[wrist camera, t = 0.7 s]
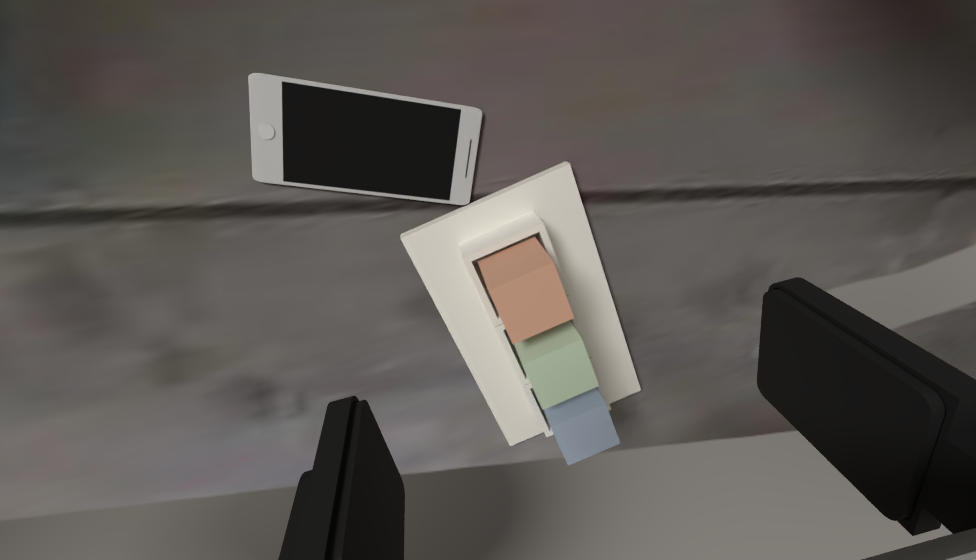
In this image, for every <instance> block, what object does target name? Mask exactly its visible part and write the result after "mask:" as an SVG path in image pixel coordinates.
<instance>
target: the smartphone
mask: <svg viewBox="0 0 976 560" xmlns="http://www.w3.org/2000/svg"><path fill="white" fill-rule="evenodd" d="M248 79H249V103H250V127H251V151H252V175H253V179H255V180H256V181H259V182H263V183H272V184H281V185H290V186H298V187H307V188H316V189H325V190H333V191H342V192H351V193H360V194H368V195H377V196H386V197H395V198H403V199H412V200H421V201H430V202H438V203H447V204H456V205H467V204H469V202H470V195H471V189H472V182H473V175H474V168H475V161H476V154H477V148H478V141H479V134H480V127H481V120H482V111H481V110H479V109H478V108H475V107H470V106H464V105H457V104H451V103H445V102H439V101H432V100H426V99H420V98H413V97H407V96H401V95H395V94H388V93H382V92H376V91H370V90H363V89H357V88H351V87H344V86H338V85H332V84H326V83H319V82H313V81H307V80H300V79H294V78H288V77H282V76H275V75H269V74H263V73H253V74H250V75H249V77H248Z"/></svg>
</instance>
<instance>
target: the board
mask: <svg viewBox="0 0 976 560" xmlns="http://www.w3.org/2000/svg"><path fill="white" fill-rule="evenodd" d="M534 236H535V238H536V239H537V240H538V242H539V243H540V244H541V246H542V247H543V248H544V250H545V251H546V252H547V254H548V255H549V256H550V258H551V259H552V260H553V262H554V264H555V267H556V270H557V272H558V275H559V278H560V280H561V283H562V286H563V289H564V291H565V294H566V297H567V299H568V302H569V305H570V308H571V310H572V313H573V316H574V318H573V319H571V320H570V321H571V323H572V324H573V326H574V327H575V329H576V330H577V332H578V333H579V335H580V337H581V338H582V340H583V343H584V346H585V348H586V351H587V354H588V357H589V359H590V362H591V365H592V367H593V370H594V373H595V376H596V378H597V381H598V384H599V386H598V387H596V388H597V389H598V391H599V393H600V395H601V396H602V398H603V400H604V401H605V403H606V405H607V408H608V411H610V410H611V407H610V403H613V402H615V401H617V400H620V399H622V398H624V397H627V396H629V395H631V394H634V393H636V392H638V391H641V389H640V385H639V382H638V379H637V376H636V373H635V369H634V366H633V363H632V360H631V357H630V354H629V350H628V347H627V344H626V341H625V338H624V334H623V331H622V328H621V325H620V322H619V319H618V315H617V312H616V309H615V306H614V303H613V299H612V296H611V293H610V290H609V287H608V283H607V280H606V277H605V274H604V271H603V268H602V264H601V261H600V258H599V255H598V252H597V248H596V245H595V242H594V239H593V236H592V233H591V229H590V226H589V223H588V220H587V217H586V213H585V210H584V207H583V204H582V201H581V198H580V194H579V191H578V188H577V185H576V182H575V178H574V175H573V172H572V169H571V166H570V163H568V162H566V161H565V162H563V163H561V164H558V165H556V166H554V167H552V168H549V169H547V170H545V171H543V172H540V173H538V174H536V175H533V176H531V177H529V178H527V179H524V180H522V181H520V182H518V183H515V184H513V185H511V186H509V187H506V188H504V189H502V190H500V191H497V192H495V193H493V194H491V195H488V196H486V197H484V198H481V199H479V200H477V201H475V202H472V203H470V204H468V205H466V206H463V207H461V208H459V209H457V210H454V211H452V212H450V213H448V214H445V215H443V216H441V217H439V218H436V219H434V220H432V221H429V222H427V223H425V224H423V225H420V226H418V227H416V228H414V229H411V230H409V231H407V232H405V233H402V234H401V240H402V242H403V244H404V246H405V248H406V250H407V252H408V254H409V256H410V257H411V259H412V261H413V263H414V265H415V267H416V269H417V271H418V273H419V274H420V276H421V278H422V280H423V282H424V284H425V286H426V288H427V290H428V292H429V293H430V295H431V297H432V299H433V301H434V303H435V305H436V307H437V309H438V310H439V312H440V314H441V316H442V318H443V320H444V322H445V324H446V326H447V327H448V329H449V331H450V333H451V335H452V337H453V339H454V341H455V343H456V344H457V346H458V348H459V350H460V352H461V354H462V356H463V358H464V360H465V362H466V363H467V365H468V367H469V369H470V371H471V373H472V375H473V377H474V379H475V380H476V382H477V384H478V386H479V388H480V390H481V392H482V394H483V396H484V397H485V399H486V401H487V403H488V405H489V407H490V409H491V411H492V413H493V414H494V416H495V418H496V420H497V422H498V424H499V426H500V428H501V430H502V431H503V433H504V435H505V437H506V439H507V441H508V443H509V445H510V446H512V445H514V444H517V443H519V442H521V441H524V440H526V439H528V438H531V437H533V436H535V435H538V434H540V433H542V432H544V433H545V435H546V437H549V436H551V435H553V434H554V433H553V431H552V429H551V427H550V424H549V422H548V419H547V417H546V414H545V412H544V410H543V409H542V407H541V405H540V403H539V401H538V399H537V396H536V394H535V392H534V390H533V388H532V385H531V383H530V381H529V379H528V377H527V375H526V372H525V370H524V368H523V366H522V363H521V361H520V358H519V356H518V353H517V350H516V348H515V345H514V344H512V342H511V340H510V337H509V335H508V333H507V331H506V329H505V326H504V324H503V322H502V320H501V318H500V316H499V313H498V311H497V309H496V307H495V305H494V302H493V300H492V298H491V296H490V294H489V291H488V289H487V286H486V283H485V281H484V278H483V275H482V272H481V270H480V267H479V264H478V261H479V260H482V259H484V258H486V257H489V256H491V255H493V254H495V253H498V252H500V251H502V250H504V249H507V248H509V247H511V246H514V245H516V244H518V243H520V242H523V241H525V240H527V239H530V238H532V237H534Z"/></svg>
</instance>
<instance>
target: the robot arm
mask: <svg viewBox="0 0 976 560" xmlns="http://www.w3.org/2000/svg"><path fill="white" fill-rule="evenodd" d="M757 385H758V388H759V390H760V392H761V394H762V395H763V396H764V397H765V398H766V399H767V400H768V401H769V402H770V403H771V404H772V405H773V406H774V407H775V408H776V409H777V410H778V411H779V412H780V413H781V414H782V415H783V416H784V417H785V418H786V419H787V420H788V421H789V422H790V423H791V424H792V425H793V426H794V427H795V428H796V429H797V430H798V431H799V432H800V433H801V434H802V435H803V436H804V437H805V438H806V439H807V440H808V441H809V442H810V443H811V444H812V445H813V446H814V447H815V448H816V449H817V450H818V451H819V452H820V453H821V454H822V455H823V456H824V457H825V458H826V459H827V460H828V461H829V462H830V463H831V464H832V465H833V466H834V467H835V468H837V470H838V471H839V472H840V473H841V474H843V475H844V477H846V478H847V479H848V480H849V481H850V482H851V483H852V484H853V485H854V486H855V487H856V488H857V489H858V490H859V491H860V492H861V493H862V494H863V495H864V496H865V497H866V498H867V499H868V500H869V501H870V502H871V503H872V504H873V505H874V506H875V507H876V508H877V509H878V510H879V511H880V512H881V513H882V514H883V515H884V516H886V517H887V518H889V519H890V520H895V521H896V520H897V521H898V522H899V523H900V524H901V525H902V526H903V527H904V528H905V529H906V530H907V531H908V532H909V533H910V534H911V535H912V536H914V535H918V534H921V533H925V532H928V531H932V530H935V529H938V528H940V526H941V523H942V524H943V525H944V526H945V527H946V528H947V529H948V530H949V531H951V532H952V533H953V534H951V535H947V536H943V537H940V538H937V539H933V540H929V541H926V542H922V543H919V544H916V545H912V546H908V547H905V548H901V549H898V550H894V551H890V552H887V553H884V554H880V555H876V556H873V557H869V558H866V559H862V560H976V380H975V379H973V378H972V377H970V376H968V375H967V374H965V373H963V372H961V371H960V370H958V369H956V368H955V367H953V366H951V365H950V364H948V363H946V362H944V361H943V360H941V359H939V358H938V357H936V356H934V355H932V354H931V353H929V352H927V351H926V350H924V349H922V348H921V347H919V346H917V345H915V344H914V343H912V342H910V341H909V340H907V339H905V338H904V337H902V336H900V335H898V334H897V333H895V332H893V331H892V330H890V329H888V328H886V327H885V326H883V325H881V324H880V323H878V322H876V321H874V320H873V319H871V318H869V317H868V316H866V315H864V314H863V313H861V312H859V311H858V310H856V309H854V308H852V307H851V306H849V305H847V304H846V303H844V302H842V301H840V300H839V299H837V298H835V297H834V296H832V295H830V294H829V293H827V292H825V291H823V290H822V289H820V288H818V287H817V286H815V285H813V284H812V283H810V282H808V281H806V280H805V279H802V278H792V279H789V280H785V281H781V282H777V283H774V284H772V285H771V286H770V287H769V289H768V292H766V293H765V294H764V296H763V304H762V318H761V332H760V345H759V359H758V373H757ZM404 511H405V492H404V485H403V481H402V479H401V476H400V474H399V472H398V469H397V467H396V465H395V463H394V460H393V458H392V456H391V454H390V451H389V449H388V447H387V445H386V442H385V440H384V438H383V436H382V433H381V431H380V429H379V427H378V424H377V422H376V420H375V418H374V415H373V413H372V411H371V409H370V406H369V404H368V402H367V401H366V400H362V401H359V400H358V398H357V397H356V396H352V397H348V398H344V399H340V400H337V401H333V402H330V403H329V404H328V406H327V410H326V414H325V419H324V423H323V427H322V431H321V436H320V440H319V444H318V448H317V453H316V457H315V461H314V465H313V469H312V470H310V471H306V472H304V473H303V474H302V476H301V478H300V480H299V483H298V487H297V491H296V495H295V498H294V502H293V506H292V510H291V514H290V518H289V522H288V525H287V529H286V533H285V537H284V541H283V545H282V549H281V552H280V556H279V560H404V513H405V512H404Z"/></svg>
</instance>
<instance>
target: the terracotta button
mask: <svg viewBox="0 0 976 560" xmlns="http://www.w3.org/2000/svg"><path fill="white" fill-rule="evenodd" d="M478 264H479V267H480V270H481V272H482V275H483V278H484V281H485V283H486V286H487V289H488V291H489V294H490V296H491V298H492V300H493V302H494V305H495V307H496V309H497V311H498V313H499V316H500V318H501V320H502V322H503V324H504V326H505V329H506V331H507V333H508V335H509V337H510V340H511V342H512V344H515V343H518V342H520V341H522V340H525V339H527V338H529V337H532V336H534V335H536V334H539V333H541V332H543V331H546V330H548V329H550V328H552V327H555V326H557V325H559V324H562V323H564V322H566V321H569V320H571V319H573V318H574V316H573V313H572V310H571V308H570V305H569V302H568V299H567V297H566V294H565V291H564V289H563V286H562V283H561V280H560V278H559V275H558V272H557V270H556V267H555V264H554V262H553V260H552V259H551V258H550V256H549V255H548V254H547V252H546V251H545V250H544V248H543V247H542V246H541V244H540V243H539V242H538V240H537V239H536V238H535V236H534V237H532V238H530V239H527V240H525V241H523V242H520V243H518V244H516V245H514V246H511V247H509V248H507V249H504V250H502V251H500V252H498V253H495V254H493V255H491V256H489V257H486V258H484V259H482V260H479V261H478Z"/></svg>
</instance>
